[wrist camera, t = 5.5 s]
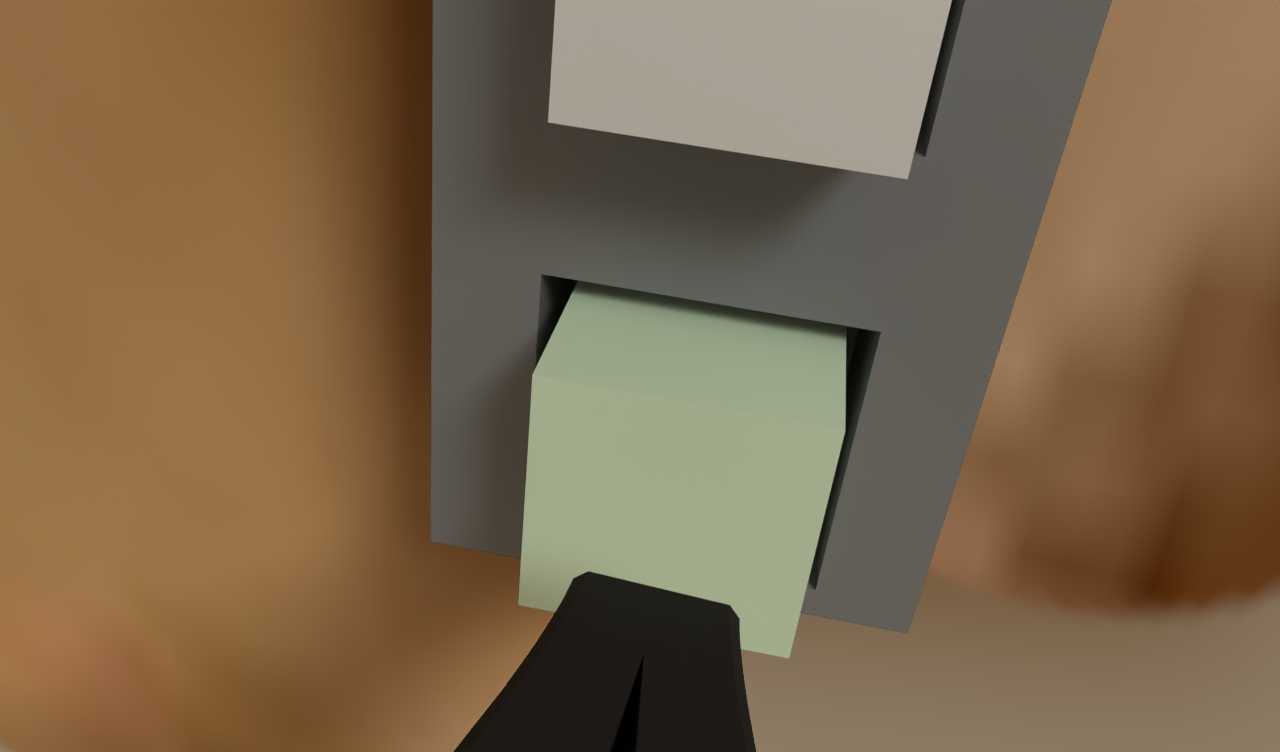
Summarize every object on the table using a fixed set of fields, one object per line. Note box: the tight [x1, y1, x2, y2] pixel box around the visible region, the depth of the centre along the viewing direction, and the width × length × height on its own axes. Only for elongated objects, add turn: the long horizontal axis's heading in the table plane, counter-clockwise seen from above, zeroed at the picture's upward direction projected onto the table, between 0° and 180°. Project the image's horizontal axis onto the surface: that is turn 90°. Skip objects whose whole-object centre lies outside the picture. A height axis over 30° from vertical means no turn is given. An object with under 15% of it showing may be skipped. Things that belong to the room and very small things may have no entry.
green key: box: [518, 280, 846, 658], centre depth 12 cm, size 3×3×2 cm
